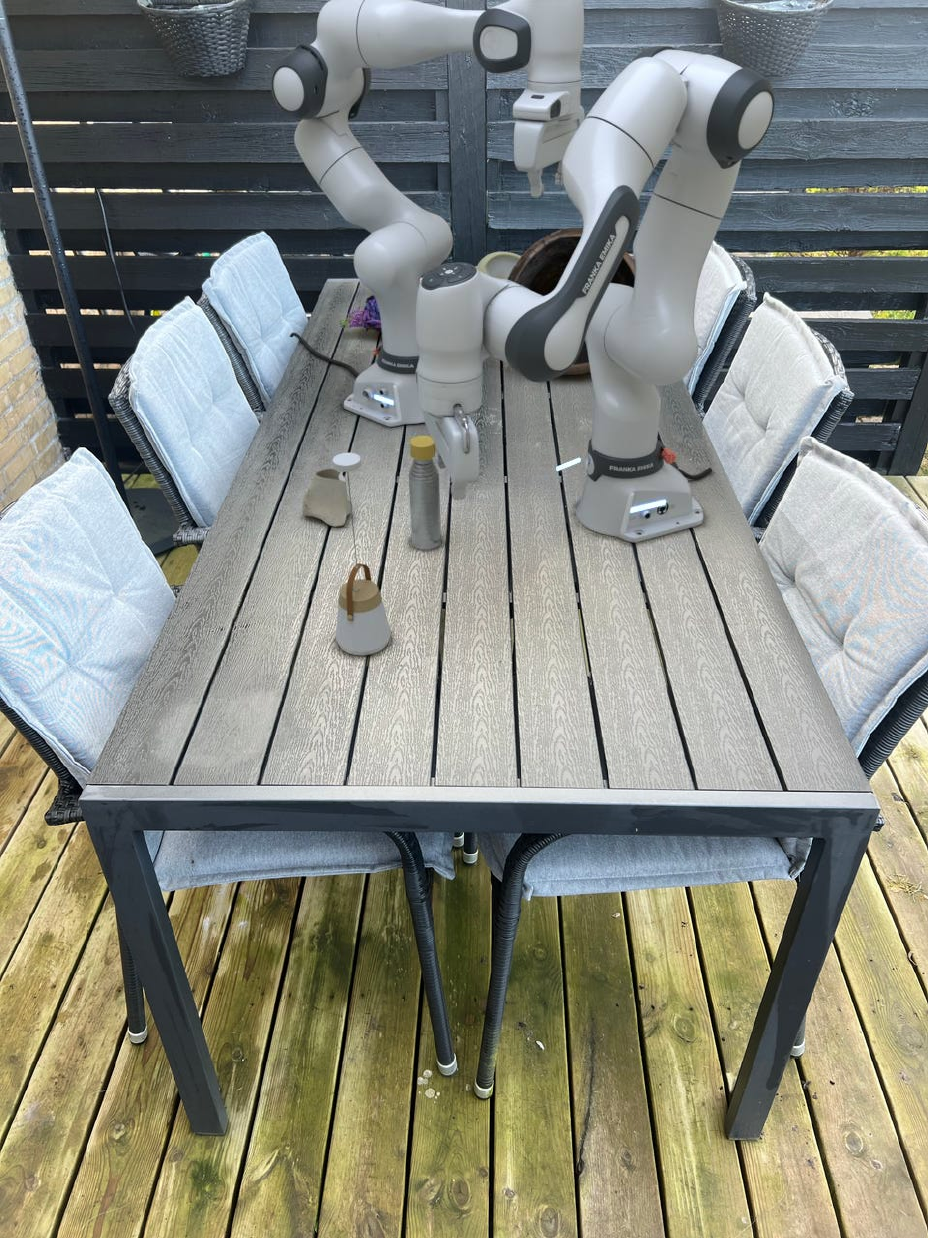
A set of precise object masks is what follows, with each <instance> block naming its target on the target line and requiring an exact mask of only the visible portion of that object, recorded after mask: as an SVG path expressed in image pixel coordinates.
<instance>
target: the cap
mask: <svg viewBox="0 0 928 1238" xmlns="http://www.w3.org/2000/svg"><path fill="white" fill-rule="evenodd" d="M409 452H410V457H411V458H412V459H413V460H414V459H416V460H429V459H433V458H435V457H436V455H437V454H436V449H435V443H434V441H433V439H432V437H431V436H429V435H417V436H414V437H413V438H411V439H410V441H409Z"/></svg>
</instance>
